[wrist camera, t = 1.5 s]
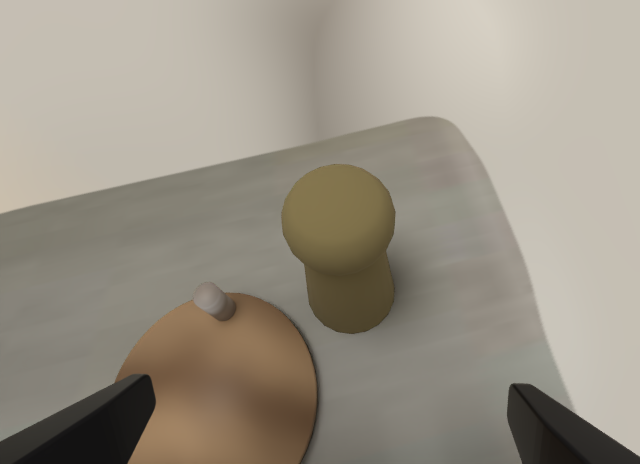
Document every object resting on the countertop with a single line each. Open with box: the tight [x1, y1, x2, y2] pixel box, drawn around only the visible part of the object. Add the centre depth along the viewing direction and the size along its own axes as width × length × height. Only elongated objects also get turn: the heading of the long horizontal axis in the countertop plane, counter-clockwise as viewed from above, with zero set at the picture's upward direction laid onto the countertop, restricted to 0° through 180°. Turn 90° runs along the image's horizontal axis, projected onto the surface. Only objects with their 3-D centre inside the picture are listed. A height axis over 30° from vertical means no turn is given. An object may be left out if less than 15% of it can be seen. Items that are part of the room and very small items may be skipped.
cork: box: [282, 164, 395, 334], centre depth 19 cm, size 6×6×11 cm
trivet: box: [115, 282, 317, 464], centre depth 19 cm, size 13×13×4 cm
